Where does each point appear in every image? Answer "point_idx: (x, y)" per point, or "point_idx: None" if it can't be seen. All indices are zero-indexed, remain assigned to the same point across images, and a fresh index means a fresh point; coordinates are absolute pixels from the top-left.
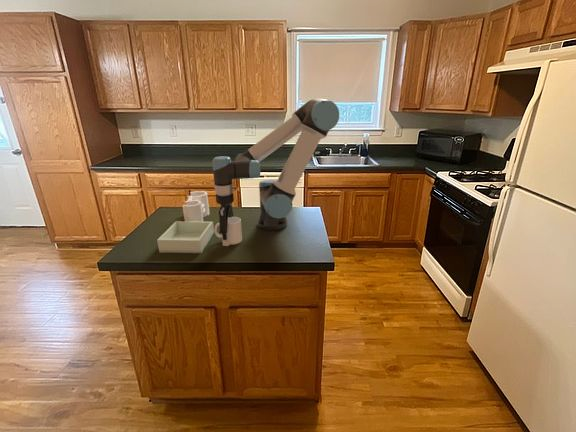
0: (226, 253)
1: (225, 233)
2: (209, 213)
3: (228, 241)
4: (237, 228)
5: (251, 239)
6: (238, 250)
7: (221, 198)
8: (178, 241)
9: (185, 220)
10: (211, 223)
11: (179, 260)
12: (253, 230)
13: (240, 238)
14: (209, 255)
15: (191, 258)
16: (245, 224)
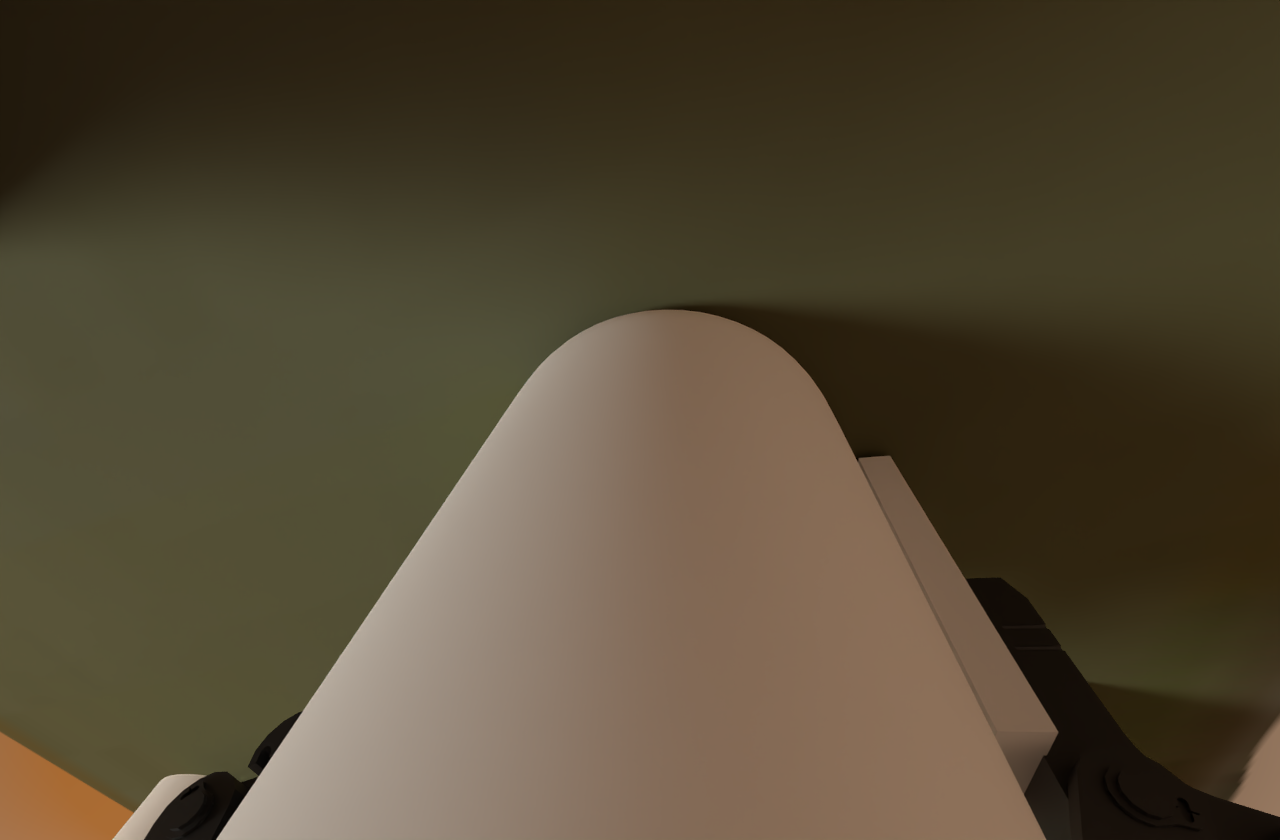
0: (1181, 410)
1: (1152, 766)
2: (176, 776)
3: (922, 514)
4: (873, 597)
5: (527, 104)
6: (1105, 222)
7: None
8: None
9: None
10: None
11: (1192, 780)
12: (138, 226)
13: (716, 335)
14: (1167, 599)
15: (1184, 721)
16: (72, 441)
